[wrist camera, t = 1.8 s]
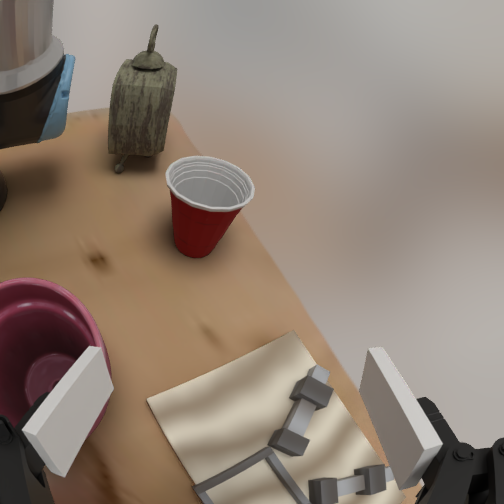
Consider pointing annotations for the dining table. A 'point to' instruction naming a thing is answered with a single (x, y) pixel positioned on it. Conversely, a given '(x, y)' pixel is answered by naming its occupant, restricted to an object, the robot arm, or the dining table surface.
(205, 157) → the plastic cup
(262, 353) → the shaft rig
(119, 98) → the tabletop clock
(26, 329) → the plant pot
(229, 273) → the dining table surface
